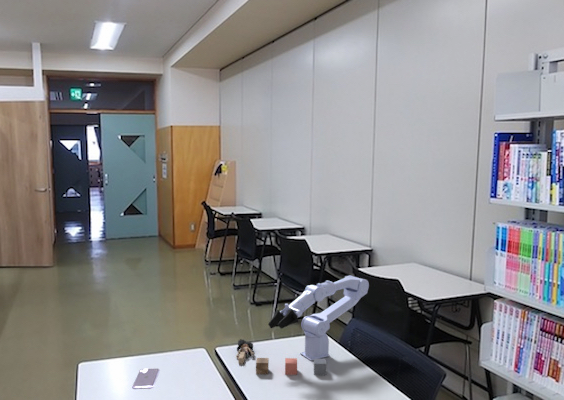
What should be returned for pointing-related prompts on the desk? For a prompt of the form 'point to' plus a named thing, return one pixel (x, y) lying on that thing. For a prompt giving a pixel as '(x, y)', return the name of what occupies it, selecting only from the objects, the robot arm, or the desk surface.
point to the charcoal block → (319, 366)
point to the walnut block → (262, 365)
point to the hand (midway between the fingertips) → (274, 326)
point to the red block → (290, 366)
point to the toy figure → (244, 350)
